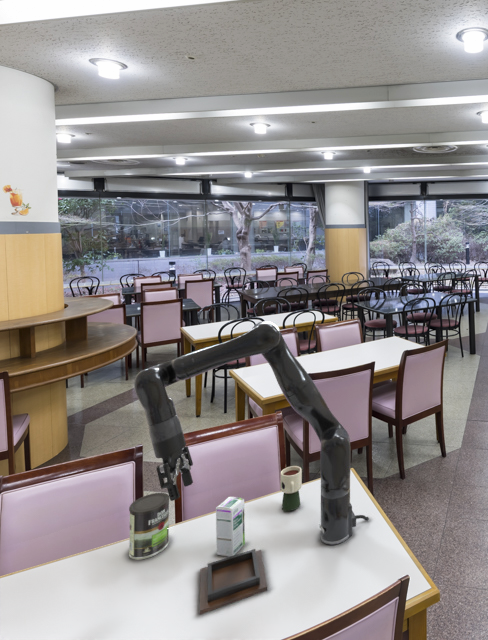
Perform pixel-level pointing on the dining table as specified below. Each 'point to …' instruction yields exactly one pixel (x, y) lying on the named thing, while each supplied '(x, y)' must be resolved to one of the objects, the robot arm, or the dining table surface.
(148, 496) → the coffee can
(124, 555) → the dining table surface
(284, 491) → the character mug
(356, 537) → the dining table surface
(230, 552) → the syrup box
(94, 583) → the dining table surface
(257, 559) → the base pad
